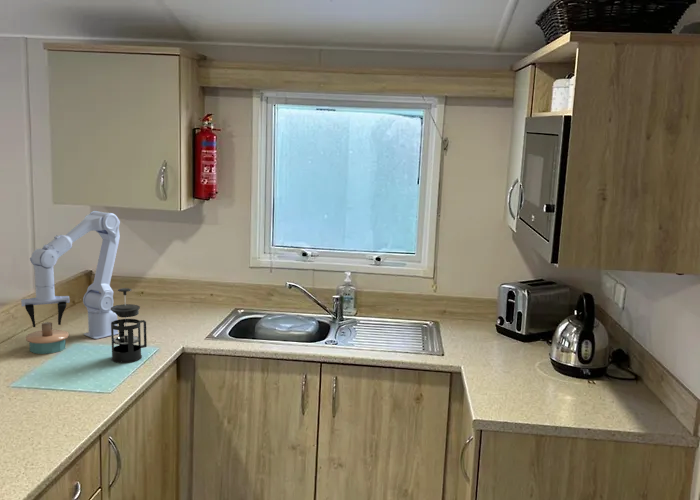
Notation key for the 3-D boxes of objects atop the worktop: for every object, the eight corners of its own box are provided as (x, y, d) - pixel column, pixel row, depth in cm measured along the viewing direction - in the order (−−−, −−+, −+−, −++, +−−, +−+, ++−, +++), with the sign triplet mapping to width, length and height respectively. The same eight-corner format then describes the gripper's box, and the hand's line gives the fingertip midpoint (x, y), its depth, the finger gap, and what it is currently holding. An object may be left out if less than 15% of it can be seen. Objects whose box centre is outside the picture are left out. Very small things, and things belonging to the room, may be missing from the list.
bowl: (55, 341, 240) (54, 330, 239) (71, 348, 233) (71, 337, 232) (24, 348, 231) (23, 337, 231) (39, 355, 225) (39, 344, 224)
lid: (70, 330, 239) (69, 317, 238) (66, 342, 227) (66, 327, 226) (28, 333, 235) (28, 319, 234) (23, 344, 223) (22, 330, 222)
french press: (114, 365, 218) (112, 293, 214) (105, 357, 225) (103, 287, 222) (151, 359, 225) (149, 289, 221) (141, 351, 232) (139, 283, 228)
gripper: (67, 281, 235) (69, 320, 238) (20, 284, 229) (22, 324, 231) (69, 285, 229) (71, 325, 231) (20, 288, 223) (22, 329, 225)
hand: (46, 325), depth 231 cm, fingers open, 7 cm apart
